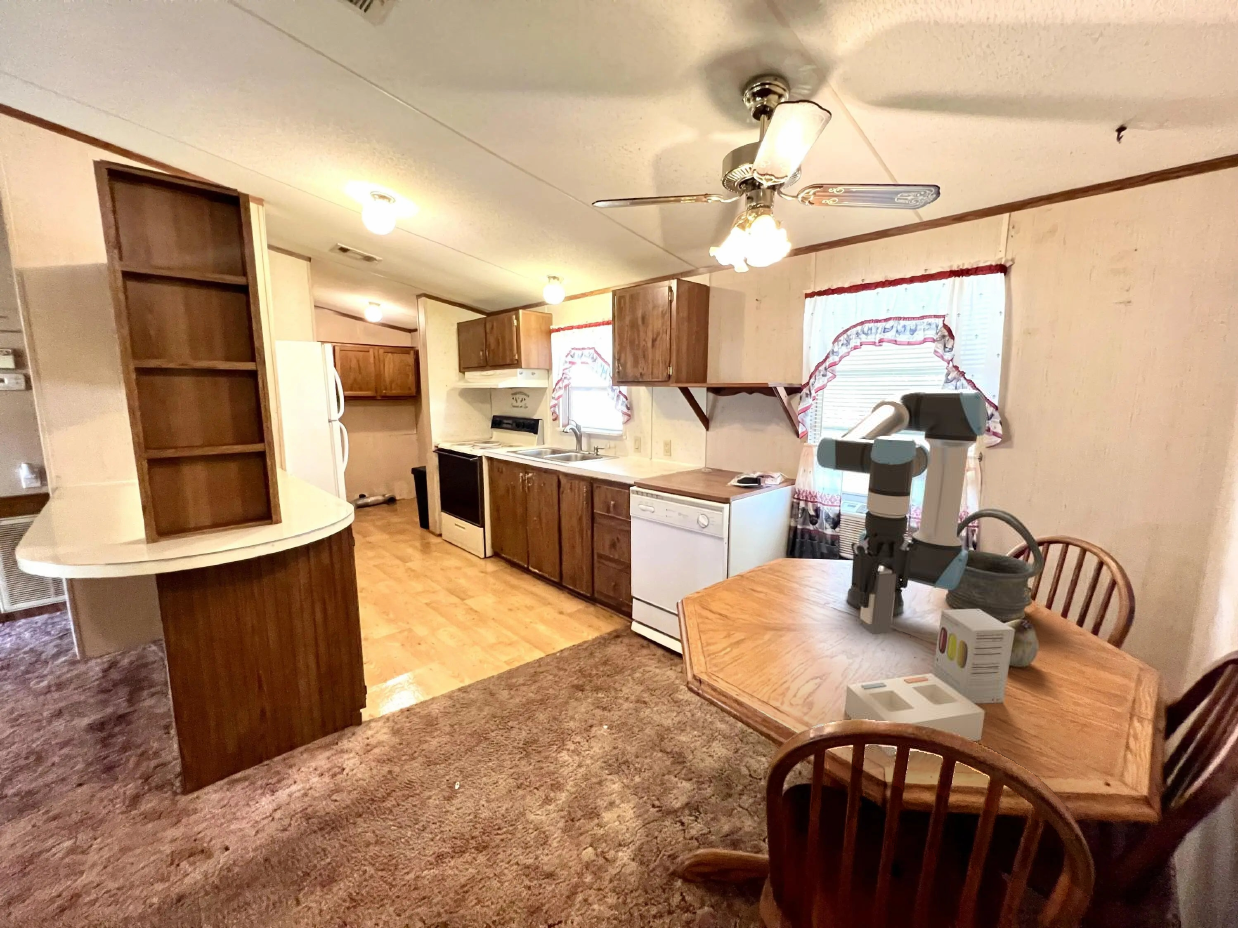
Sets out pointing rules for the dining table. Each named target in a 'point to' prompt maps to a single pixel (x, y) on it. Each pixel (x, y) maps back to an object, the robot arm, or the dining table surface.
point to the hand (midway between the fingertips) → (875, 619)
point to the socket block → (915, 705)
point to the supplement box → (973, 654)
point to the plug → (882, 602)
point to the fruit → (1023, 643)
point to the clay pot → (996, 575)
